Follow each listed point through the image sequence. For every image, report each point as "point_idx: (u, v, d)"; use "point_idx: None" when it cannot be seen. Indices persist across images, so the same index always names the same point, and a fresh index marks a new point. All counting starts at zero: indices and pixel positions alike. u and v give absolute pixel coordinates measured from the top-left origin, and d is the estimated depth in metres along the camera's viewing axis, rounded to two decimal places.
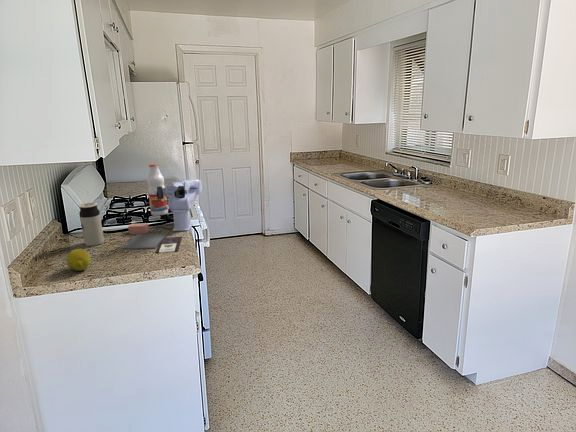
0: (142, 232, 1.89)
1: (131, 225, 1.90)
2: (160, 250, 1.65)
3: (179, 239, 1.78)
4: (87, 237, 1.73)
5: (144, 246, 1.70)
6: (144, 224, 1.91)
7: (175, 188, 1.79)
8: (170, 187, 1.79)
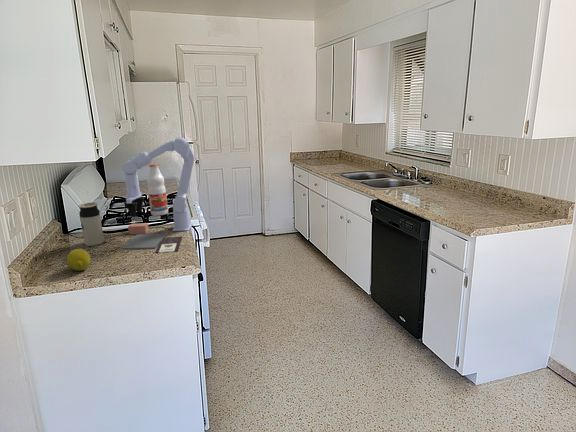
0: (142, 232, 1.89)
1: (131, 225, 1.90)
2: (159, 251, 1.65)
3: (179, 239, 1.78)
4: (87, 237, 1.73)
5: (144, 246, 1.70)
6: (144, 224, 1.91)
7: None
8: None
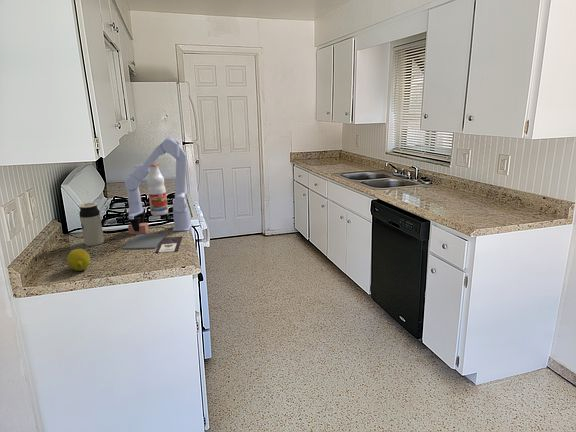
0: (142, 232, 1.89)
1: (131, 225, 1.89)
2: (159, 250, 1.65)
3: (179, 239, 1.78)
4: (87, 237, 1.73)
5: (144, 246, 1.70)
6: (144, 224, 1.91)
7: None
8: None
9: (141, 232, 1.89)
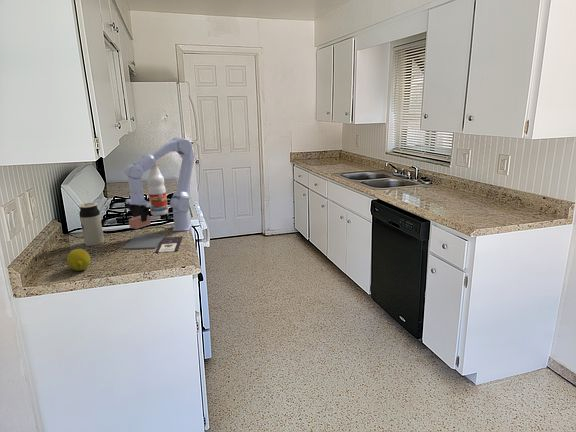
0: (147, 223, 1.82)
1: (134, 219, 1.77)
2: (159, 250, 1.65)
3: (180, 239, 1.78)
4: (87, 237, 1.73)
5: (144, 246, 1.70)
6: None
7: None
8: None
9: (147, 224, 1.81)
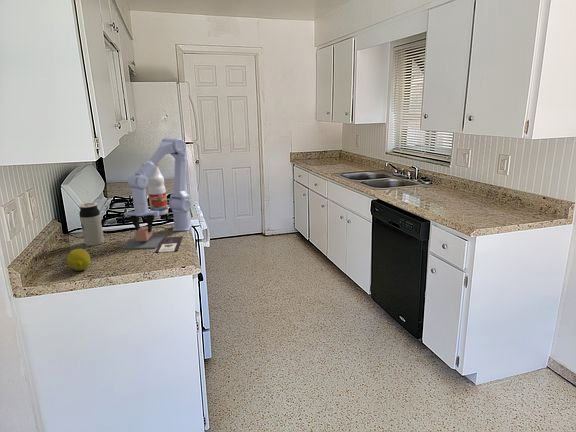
0: (151, 234, 1.79)
1: (142, 231, 1.73)
2: (159, 250, 1.65)
3: (180, 239, 1.78)
4: (87, 237, 1.73)
5: (144, 246, 1.70)
6: (145, 227, 1.78)
7: None
8: None
9: (151, 234, 1.78)
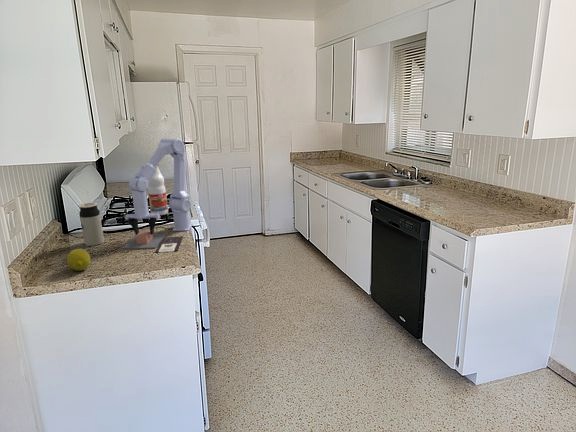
0: (151, 237, 1.79)
1: (143, 234, 1.73)
2: (159, 250, 1.65)
3: (180, 239, 1.78)
4: (87, 237, 1.73)
5: (144, 246, 1.70)
6: (145, 230, 1.79)
7: None
8: None
9: (151, 237, 1.79)
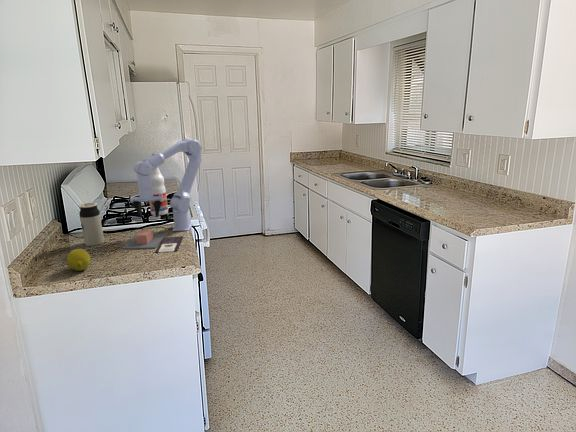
0: (151, 237, 1.79)
1: (143, 234, 1.73)
2: (159, 250, 1.65)
3: (180, 239, 1.78)
4: (87, 237, 1.73)
5: (144, 246, 1.70)
6: (145, 230, 1.79)
7: None
8: None
9: (151, 237, 1.79)
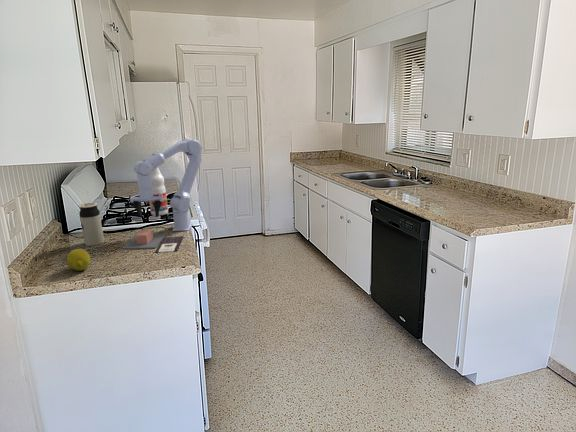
0: (151, 237, 1.79)
1: (143, 234, 1.73)
2: (159, 250, 1.66)
3: (180, 239, 1.78)
4: (87, 237, 1.73)
5: (144, 246, 1.70)
6: (145, 230, 1.79)
7: None
8: None
9: (151, 237, 1.79)
